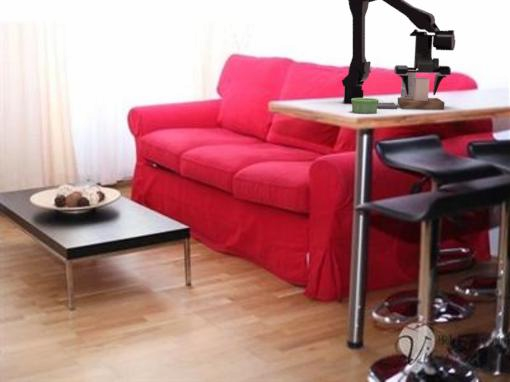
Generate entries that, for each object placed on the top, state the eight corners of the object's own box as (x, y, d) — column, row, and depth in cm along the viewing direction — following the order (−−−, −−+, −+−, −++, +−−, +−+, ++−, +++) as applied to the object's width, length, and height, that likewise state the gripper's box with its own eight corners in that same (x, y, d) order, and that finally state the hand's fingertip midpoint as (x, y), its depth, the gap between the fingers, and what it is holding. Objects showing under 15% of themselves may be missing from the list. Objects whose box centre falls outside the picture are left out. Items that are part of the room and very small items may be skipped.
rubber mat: (367, 108, 263) (367, 105, 263) (365, 105, 273) (365, 102, 272) (397, 109, 262) (397, 106, 262) (393, 105, 272) (393, 102, 272)
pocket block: (402, 109, 262) (403, 101, 262) (397, 104, 276) (397, 97, 275) (444, 109, 262) (444, 102, 261) (436, 104, 275) (437, 97, 275)
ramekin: (375, 110, 258) (376, 97, 257) (380, 114, 249) (380, 100, 248) (348, 110, 257) (349, 97, 256) (352, 114, 249) (353, 100, 248)
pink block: (414, 107, 267) (416, 78, 264) (413, 106, 271) (414, 77, 269) (427, 107, 266) (429, 78, 264) (425, 106, 271) (427, 77, 268)
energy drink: (414, 98, 294) (415, 67, 292) (415, 100, 289) (417, 68, 286) (399, 98, 295) (401, 67, 292) (401, 100, 290) (402, 68, 287)
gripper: (399, 50, 257) (396, 97, 260) (455, 51, 256) (452, 97, 259) (395, 49, 268) (392, 93, 271) (448, 49, 267) (446, 94, 270)
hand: (420, 95), depth 268 cm, fingers open, 9 cm apart
